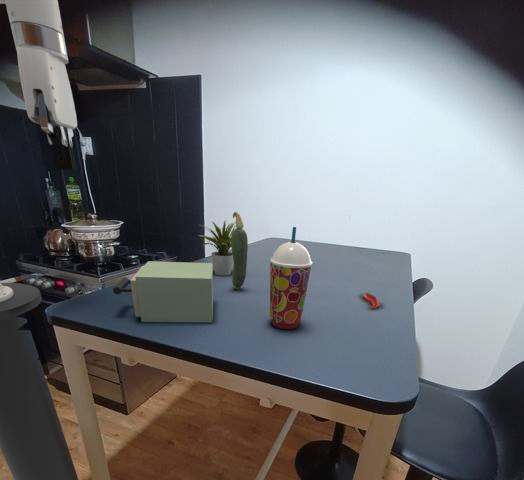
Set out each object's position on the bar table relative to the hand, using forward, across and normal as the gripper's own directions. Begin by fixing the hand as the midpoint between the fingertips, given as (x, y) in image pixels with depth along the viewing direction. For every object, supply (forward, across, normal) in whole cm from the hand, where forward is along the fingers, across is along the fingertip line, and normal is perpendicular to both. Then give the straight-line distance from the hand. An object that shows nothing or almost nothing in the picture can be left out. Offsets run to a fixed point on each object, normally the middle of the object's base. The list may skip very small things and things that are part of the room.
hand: (66, 169), depth 63 cm
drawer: (+26, +7, +17) cm, 32 cm away
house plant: (+27, -28, +31) cm, 49 cm away
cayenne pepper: (+27, -2, +71) cm, 76 cm away
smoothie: (+27, +13, +44) cm, 53 cm away
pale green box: (+27, +7, +21) cm, 35 cm away
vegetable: (+27, -10, +35) cm, 45 cm away
